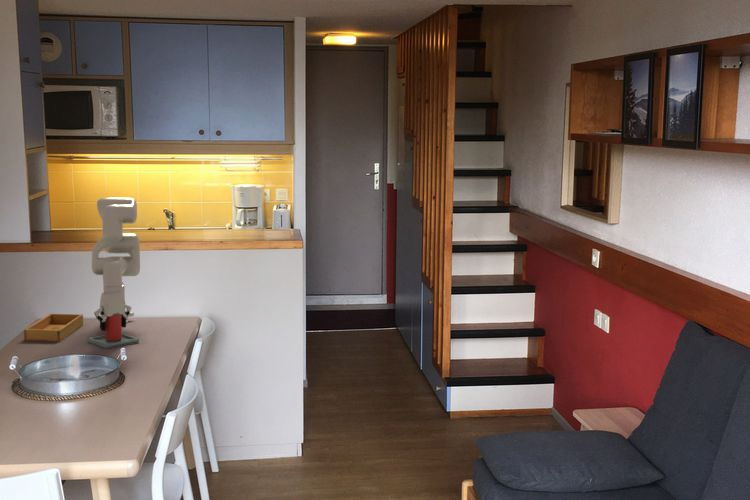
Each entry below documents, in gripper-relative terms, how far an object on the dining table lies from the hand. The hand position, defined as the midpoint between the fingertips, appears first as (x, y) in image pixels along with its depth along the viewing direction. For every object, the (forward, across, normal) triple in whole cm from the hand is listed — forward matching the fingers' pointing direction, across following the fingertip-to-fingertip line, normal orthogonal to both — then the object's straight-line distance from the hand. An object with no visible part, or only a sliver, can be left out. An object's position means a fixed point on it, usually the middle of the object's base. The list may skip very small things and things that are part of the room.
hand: (113, 328), depth 351 cm
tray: (+7, +9, -33) cm, 35 cm away
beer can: (+5, 0, 0) cm, 5 cm away
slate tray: (+6, 0, 0) cm, 6 cm away
